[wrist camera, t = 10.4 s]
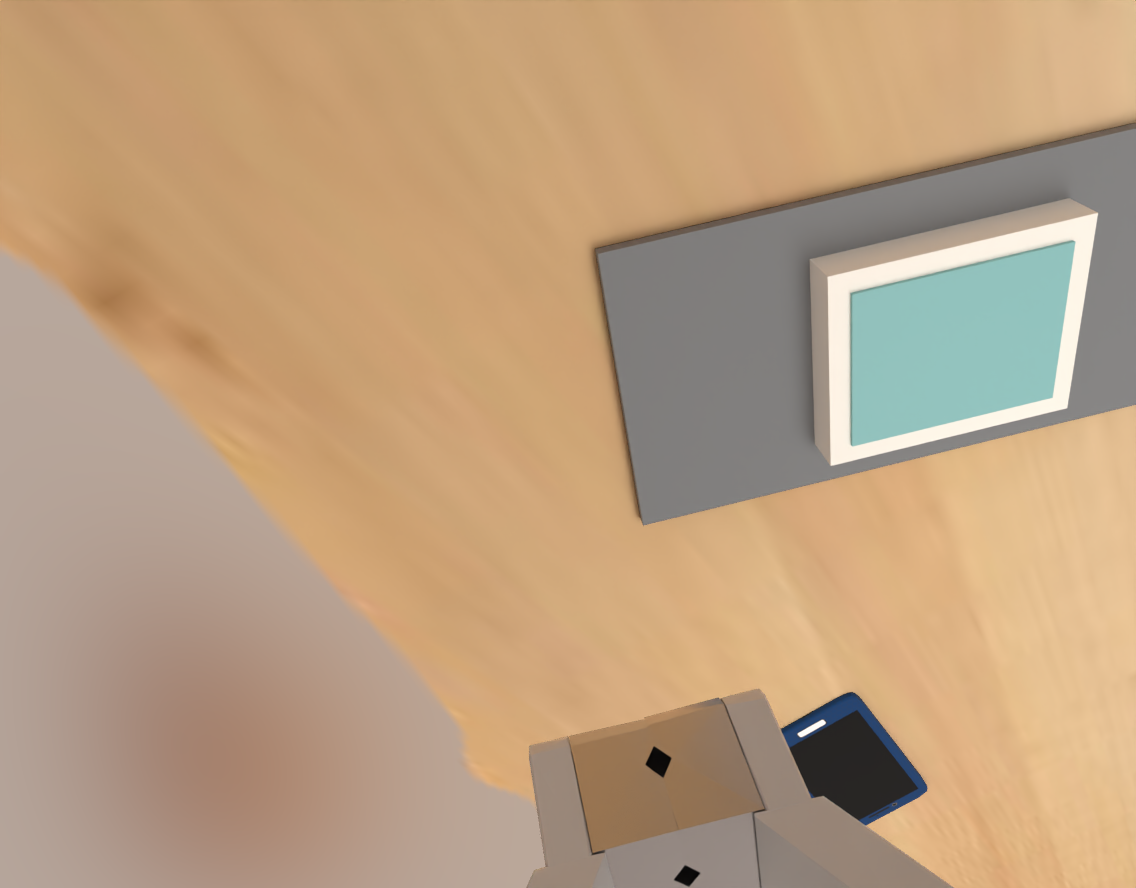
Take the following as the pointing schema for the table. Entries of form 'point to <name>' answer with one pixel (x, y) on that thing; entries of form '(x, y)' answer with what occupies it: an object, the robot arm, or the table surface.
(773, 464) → the mat
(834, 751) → the cell phone
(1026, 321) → the white picture frame
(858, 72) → the table surface
